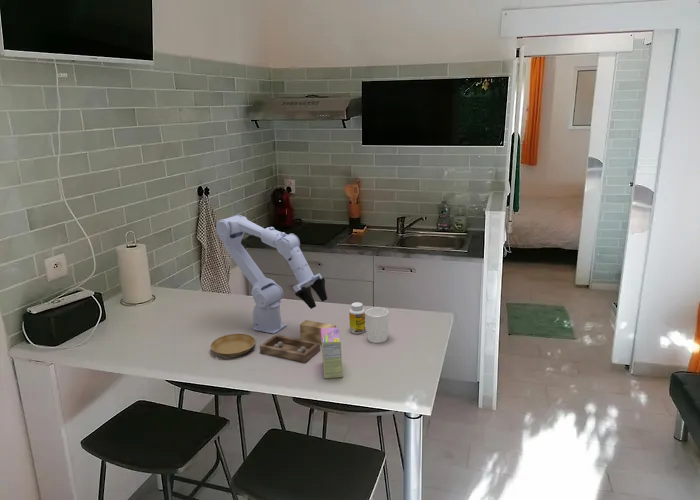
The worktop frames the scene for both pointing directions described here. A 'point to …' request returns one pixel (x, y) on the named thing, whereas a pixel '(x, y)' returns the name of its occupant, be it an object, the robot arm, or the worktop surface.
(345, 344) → the worktop surface
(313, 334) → the wooden block
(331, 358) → the box
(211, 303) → the worktop surface
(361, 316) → the supplement bottle
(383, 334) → the white cup
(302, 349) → the walnut peg frame
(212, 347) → the plant saucer
